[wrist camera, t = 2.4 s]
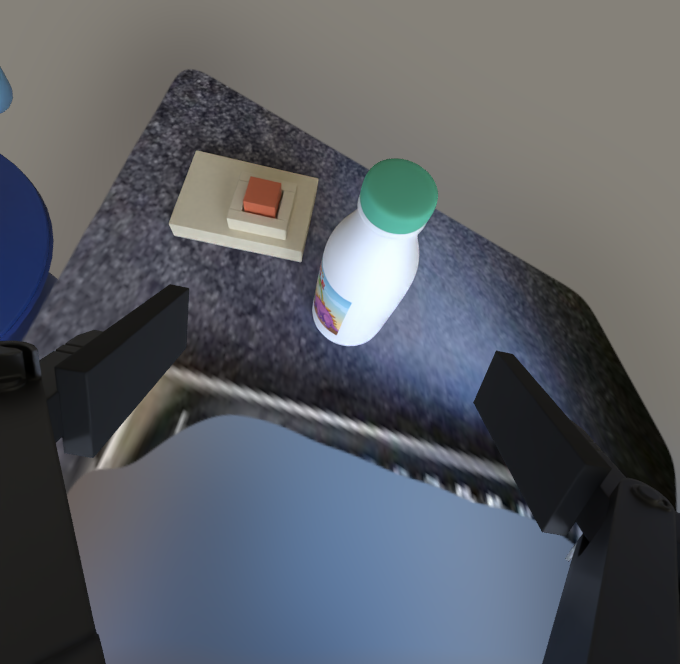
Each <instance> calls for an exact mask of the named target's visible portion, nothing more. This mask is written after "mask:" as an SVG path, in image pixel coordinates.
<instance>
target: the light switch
mask: <svg viewBox="0 0 680 664" xmlns="http://www.w3.org/2000/svg"><path fill="white" fill-rule="evenodd" d="M250 176H252V177H256V178H261V179H265V180H270V181H274V182H278V183H281V198H280V202H279V206H278V209H277V213H276V217H275V218H270V217H265V216H261V215H256V214H252V213H247V212H245V211H244V204H243V199H244V196H245V193H246V189H247V186H248V183H249V179H250ZM317 187H318V178H314V177H309V176H305V175H301V174H296V173H292V172H288V171H283V170H279V169H275V168H270V167H266V166H262V165H257V164H253V163H248V162H244V161H240V160H235V159H231V158H227V157H222V156H218V155H214V154H209V153H205V152H201V151H196V152H195V155H194V158H193V160H192V163H191V166H190V168H189V171H188V174H187V176H186V179H185V182H184V184H183V187H182V189H181V192H180V195H179V197H178V200H177V203H176V205H175V208H174V211H173V213H172V216H171V219H170V221H169V225H170V228H171V230H172V232H173V234H174V236H179V237H184V238H188V239H193V240H198V241H203V242H207V243H212V244H217V245H222V246H226V247H231V248H236V249H241V250H245V251H250V252H255V253H259V254H264V255H269V256H274V257H278V258H283V259H288V260H293V261H297V262H302V257H303V253H304V248H305V243H306V239H307V234H308V230H309V225H310V221H311V216H312V211H313V207H314V202H315V198H316V193H317Z"/></svg>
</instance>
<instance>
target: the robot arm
mask: <svg viewBox="0 0 680 664" xmlns="http://www.w3.org/2000/svg"><path fill="white" fill-rule="evenodd" d="M12 99H13V96H12V88H11V86H10V84H9V82H8V80H7V78H6V76H5V74H4V72H3V71H2V69H1V67H0V113H3V112H5V110H7V109H8V108H9V106H10V104H11V102H12ZM188 303H189V288H185V287H180V286H176V285H171V284H170V285H168V286H167V287H166V288H164V289H163V290H161V291H160V292H159V293H157V294H156V295H154V296H153V297H152V298H150V299H149V300H147V301H146V302H145V303H143V304H142V305H140V306H139V307H138V308H136V309H135V310H133V311H132V312H131V313H129V314H128V315H126V316H125V317H124V318H122V319H121V320H119V321H118V322H117V323H115V324H114V325H112V326H111V327H109V328H108V329H107V330H105V331H104V332H102V331H97V330H92V331H89V332H86V333H83V334H80V335H77V336H76V337H74V338H73V339H71V340H70V341H68V342H67V343H66V344H65V345H62V346H61V347H59V348H58V349H56V351H53V352H51V353H50V354H48V355H47V356H45V357H44V358H42V359H41V360H39V355H38V350H37V348H36V347H35V346H34V345H32V344H29V343H27V342H20V341H0V664H106V663H105V659H104V654H103V650H102V646H101V642H100V638H99V635H98V634H97V633H96V629H95V625H94V621H93V616H92V611H91V607H90V603H89V597H88V593H87V588H86V583H85V579H84V574H83V569H82V565H81V560H80V555H79V550H78V546H77V541H76V537H75V532H74V527H73V522H72V518H71V513H70V509H69V504H68V499H67V494H66V490H65V485H64V480H63V476H62V471H61V466H60V462H59V457H58V452H57V448H56V442H57V441H58V440H59V439H60V438H61V437H62V438H63V446H64V453H67V454H73V455H79V456H85V457H91V458H94V456H95V455H96V454H97V453H98V452H99V450H100V449H101V448H102V447H103V446H104V445H105V443H106V442H107V441H108V440H109V439H110V437H111V436H112V435H113V434H114V433H115V431H116V430H117V429H118V428H119V427H120V426H121V424H122V423H123V422H124V421H125V420H126V418H127V417H128V416H129V415H130V414H131V413H132V411H133V410H134V409H135V408H136V407H137V405H138V404H139V403H140V402H141V401H142V400H143V398H144V397H145V396H146V395H147V394H148V392H149V391H150V390H151V389H152V388H153V386H154V385H155V384H156V383H157V382H158V381H159V379H160V378H161V377H162V376H163V375H164V373H165V372H166V371H167V370H168V369H169V368H170V366H171V365H172V364H173V363H174V362H175V360H176V359H177V358H178V357H179V356H180V355H181V353H182V352H183V351H184V350H185V349H186V343H187V323H188ZM473 403H474V405H475V406H476V408H477V410H478V412H479V414H480V416H481V418H482V420H483V422H484V423H485V425H486V427H487V429H488V431H489V433H490V435H491V437H492V439H493V440H494V442H495V444H496V446H497V448H498V450H499V452H500V454H501V456H502V457H503V459H504V461H505V463H506V465H507V467H508V469H509V471H510V472H511V474H512V476H513V478H514V480H515V482H516V484H517V486H518V488H519V489H520V491H521V493H522V495H523V497H524V499H525V501H526V503H527V505H528V506H529V508H530V510H531V512H532V514H533V516H534V518H535V520H536V522H537V523H538V525H539V527H540V529H541V531H542V532H544V533H550V534H557V535H563V536H566V535H567V534H568V532H569V531H570V529H571V528H572V526H573V525H574V523H575V522H576V523H577V524H578V526H579V527H580V529H581V531H582V532H583V534H582V535H581V537H580V538H579V540H578V541H577V542H576V544H575V545H574V547H573V548H572V550H571V551H570V553H569V554H568V555H567V557H566V558H565V559H566V560H567V561H570V560H571V559H572V561H571V564H570V568H569V571H568V575H567V578H566V582H565V586H564V589H563V592H562V596H561V600H560V603H559V607H558V610H557V614H556V617H555V621H554V624H553V628H552V631H551V635H550V638H549V642H548V645H547V649H546V653H545V656H544V660H543V663H542V664H680V513H677V512H675V510H674V508H673V506H672V504H671V503H670V502H669V501H668V500H667V499H666V498H665V497H664V496H663V495H662V494H660V493H659V492H658V491H657V490H655V489H653V488H652V487H650V486H649V485H647V484H645V483H642V482H640V481H638V480H635V479H631V478H626V477H625V476H624V475H623V474H622V473H621V472H620V470H619V469H618V468H617V467H616V466H615V465H614V464H613V462H612V461H611V460H610V459H609V458H608V457H607V456H606V455H605V453H604V452H601V449H600V448H599V447H598V446H597V444H596V443H593V440H592V439H591V438H590V436H589V435H588V434H587V433H586V432H585V431H584V430H583V429H582V428H580V427H579V426H578V425H576V424H575V423H574V422H573V421H571V420H570V419H569V418H568V417H567V416H566V415H565V414H564V413H563V411H562V410H561V409H560V408H559V407H558V406H557V404H556V403H555V402H554V401H553V400H552V399H551V398H550V396H549V395H548V394H547V393H546V392H545V391H544V389H543V388H542V387H541V386H540V385H539V384H538V383H537V381H536V380H535V379H534V378H533V377H532V376H531V374H530V373H529V372H528V371H527V370H526V369H525V367H524V366H523V365H522V364H521V363H520V362H519V361H518V359H517V358H516V357H515V356H514V355H513V354H510V353H505V352H500V351H496V352H495V355H494V357H493V359H492V361H491V364H490V366H489V368H488V370H487V373H486V375H485V377H484V380H483V382H482V384H481V386H480V389H479V391H478V393H477V396H476V398H475V400H474V402H473Z"/></svg>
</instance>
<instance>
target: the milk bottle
mask: <svg viewBox="0 0 680 664" xmlns="http://www.w3.org/2000/svg"><path fill="white" fill-rule="evenodd" d="M437 199H438V191H437V186H436V184H435V182H434V180H433V178H432V177H431V175H430V174H429V173H428V172H427V171H426V170H424V169H423V168H422V167H420V166H419V165H417V164H415V163H413V162H411V161H408V160H404V159H387V160H383V161H380V162H378V163H377V164H375V165H374V166H373V167H372V168H371V169H370V170H369V172H368V173H367V174H366V176H365V179H364V181H363V184H362V188H361V192H360V196H359V199H358V209H357V210H356V211H354V212H353V213H351V214H350V215H348V216H347V217H346V218H344V219H343V220H342V221H341V222H340V223H339V224H338V225H337V227H336V228H335V229H334V231H333V232H332V234H331V236H330V237H329V240H328V242H327V244H326V247H325V250H324V254H323V257H322V261H321V266H320V270H319V275H318V280H317V285H316V290H315V295H314V300H313V309H312V313H313V319H314V322H315V324H316V326H317V328H318V329H319V331H320V332H321V333H322V334H323V335H324V336H325V337H326V338H327V339H329V340H330V341H332V342H334V343H337V344H340V345H345V346H356V345H360V344H363V343H365V342H367V341H369V340H370V339H372V338H373V337H374V336H375V335H376V334H377V333H378V331H379V330H380V329H381V327H382V326H383V325H384V323H385V322H386V321H387V319H388V318H389V317H390V315H391V314H392V312H393V311H394V310H395V308H396V307H397V305H398V304H399V303H400V301H401V300H402V298H403V297H404V295H405V294H406V292H407V290H408V289H409V287H410V285H411V284H412V282H413V279H414V277H415V275H416V271H417V267H418V263H419V245H418V238H417V234H418V233H420V232H421V231H422V229H423V228H424V227H425V225H426V223H427V221H428V220H429V218H430V217H431V215H432V213H433V211H434V209H435V207H436V204H437Z"/></svg>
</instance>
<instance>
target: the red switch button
mask: <svg viewBox="0 0 680 664" xmlns="http://www.w3.org/2000/svg"><path fill="white" fill-rule="evenodd" d="M280 198H281V183H278V182H274V181H270V180H265V179H261V178H256V177H252V176H250V179H249V183H248V186H247V189H246V193H245V196H244V199H243V204H244V211H245V212H247V213H252V214H256V215H261V216H265V217H270V218H275V217H276V213H277V209H278V206H279V202H280Z"/></svg>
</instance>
